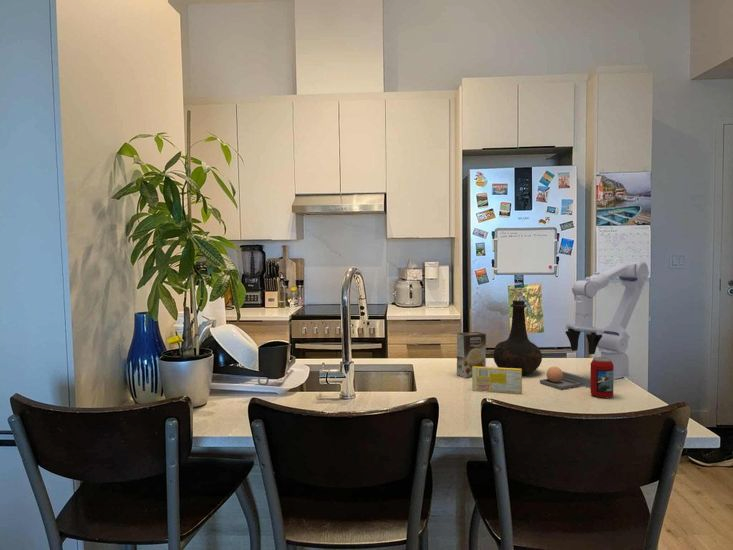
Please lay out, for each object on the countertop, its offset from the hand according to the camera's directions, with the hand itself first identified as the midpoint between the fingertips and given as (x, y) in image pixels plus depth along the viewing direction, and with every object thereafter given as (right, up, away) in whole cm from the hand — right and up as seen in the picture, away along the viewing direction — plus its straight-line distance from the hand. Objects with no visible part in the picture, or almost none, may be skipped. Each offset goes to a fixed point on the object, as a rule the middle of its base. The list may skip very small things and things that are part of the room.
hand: (583, 352), depth 185 cm
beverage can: (-1, -12, -18) cm, 21 cm away
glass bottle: (-19, -10, +15) cm, 26 cm away
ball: (-11, -8, -2) cm, 13 cm away
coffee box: (-38, -11, +11) cm, 41 cm away
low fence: (-4, -11, -2) cm, 11 cm away
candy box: (-33, -12, -11) cm, 37 cm away
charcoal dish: (-10, -11, -4) cm, 15 cm away
